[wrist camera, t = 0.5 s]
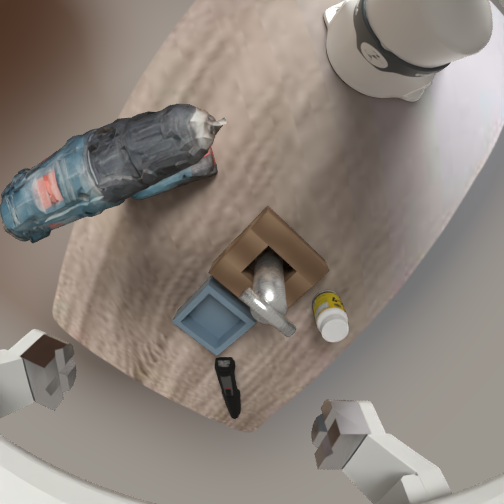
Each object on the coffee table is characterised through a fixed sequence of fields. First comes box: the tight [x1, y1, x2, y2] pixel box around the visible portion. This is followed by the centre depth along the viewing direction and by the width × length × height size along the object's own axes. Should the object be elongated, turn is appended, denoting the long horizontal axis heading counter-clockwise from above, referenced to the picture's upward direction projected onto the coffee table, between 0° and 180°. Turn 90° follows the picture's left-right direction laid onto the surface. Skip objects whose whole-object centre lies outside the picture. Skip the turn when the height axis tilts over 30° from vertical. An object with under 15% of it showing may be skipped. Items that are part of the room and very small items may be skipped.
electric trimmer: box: [215, 357, 241, 419], centre depth 54 cm, size 4×16×3 cm, turn 5°
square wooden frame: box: [209, 206, 329, 308], centre depth 44 cm, size 12×12×4 cm
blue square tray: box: [172, 276, 256, 356], centre depth 48 cm, size 10×10×4 cm
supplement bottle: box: [312, 290, 349, 342], centre depth 44 cm, size 5×5×8 cm
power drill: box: [0, 104, 228, 243], centre depth 29 cm, size 9×23×25 cm, turn 105°
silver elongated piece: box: [239, 249, 296, 337], centre depth 38 cm, size 4×7×16 cm, turn 47°
